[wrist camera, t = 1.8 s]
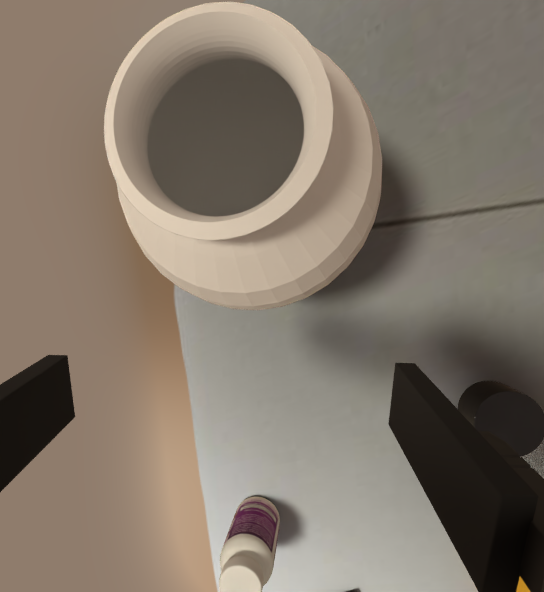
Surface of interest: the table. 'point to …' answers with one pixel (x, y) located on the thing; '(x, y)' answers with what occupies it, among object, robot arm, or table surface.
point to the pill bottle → (250, 547)
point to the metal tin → (504, 414)
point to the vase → (241, 156)
